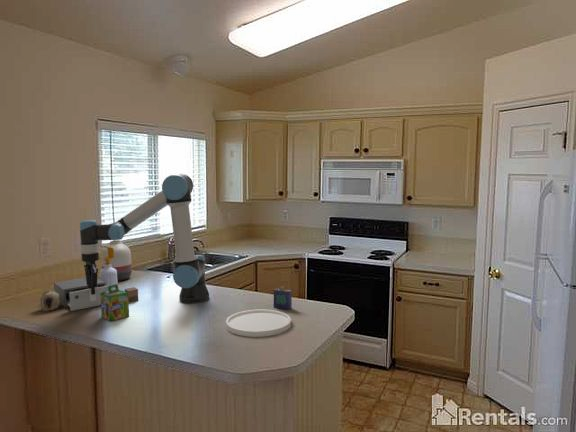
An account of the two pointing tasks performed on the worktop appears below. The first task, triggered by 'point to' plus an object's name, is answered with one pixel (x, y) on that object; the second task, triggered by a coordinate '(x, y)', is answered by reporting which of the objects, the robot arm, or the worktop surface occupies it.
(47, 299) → the garlic bulb
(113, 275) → the soap bottle
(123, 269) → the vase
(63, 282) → the housing
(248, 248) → the worktop surface
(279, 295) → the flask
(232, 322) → the plate
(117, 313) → the chalk box
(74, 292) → the grey drawer
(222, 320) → the worktop surface
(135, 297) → the block
